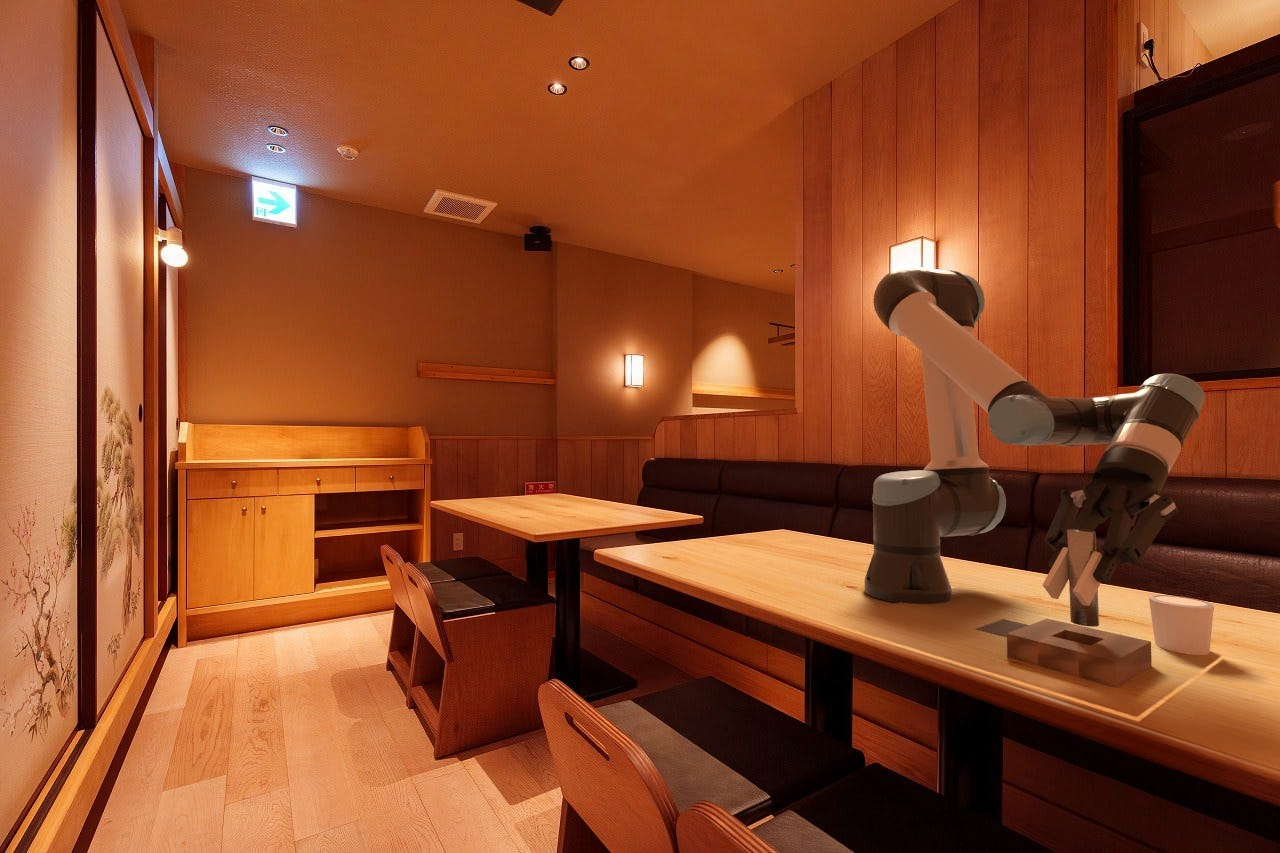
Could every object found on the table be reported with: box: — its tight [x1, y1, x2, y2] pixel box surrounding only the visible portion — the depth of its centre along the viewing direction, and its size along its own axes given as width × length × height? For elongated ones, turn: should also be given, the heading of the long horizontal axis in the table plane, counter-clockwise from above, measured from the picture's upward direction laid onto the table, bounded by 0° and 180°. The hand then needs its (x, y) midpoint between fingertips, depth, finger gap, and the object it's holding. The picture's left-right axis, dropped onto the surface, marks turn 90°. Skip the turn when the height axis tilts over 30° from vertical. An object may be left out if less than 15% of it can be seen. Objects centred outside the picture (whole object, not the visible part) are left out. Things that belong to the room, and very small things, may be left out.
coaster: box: [975, 618, 1029, 638], centre depth 91 cm, size 9×9×1 cm
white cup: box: [1148, 594, 1215, 656], centre depth 84 cm, size 7×7×7 cm
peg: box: [1067, 529, 1100, 628], centre depth 78 cm, size 3×3×12 cm
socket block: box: [1006, 618, 1153, 688], centre depth 79 cm, size 12×12×4 cm
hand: (1065, 595), depth 77 cm, fingers closed on peg, 3 cm apart
